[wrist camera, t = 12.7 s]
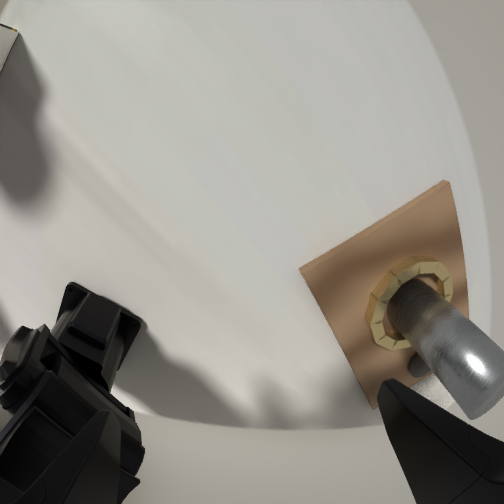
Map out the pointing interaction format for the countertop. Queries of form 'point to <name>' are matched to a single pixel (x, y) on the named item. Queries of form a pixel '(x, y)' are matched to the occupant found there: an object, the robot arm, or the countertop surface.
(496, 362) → the steel peg
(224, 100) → the countertop surface
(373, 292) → the brass ring
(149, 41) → the countertop surface
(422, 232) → the board
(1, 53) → the medicine bottle
